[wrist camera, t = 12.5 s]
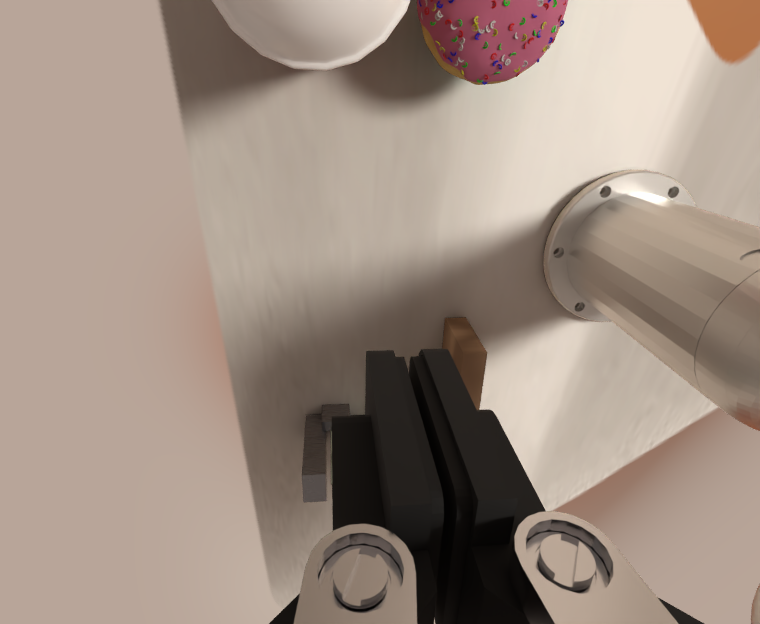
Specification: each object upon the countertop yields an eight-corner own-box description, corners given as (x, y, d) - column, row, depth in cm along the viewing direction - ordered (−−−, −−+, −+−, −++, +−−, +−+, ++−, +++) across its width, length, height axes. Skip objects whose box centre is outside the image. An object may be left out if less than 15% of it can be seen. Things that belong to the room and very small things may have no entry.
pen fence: (470, 317, 40) (509, 379, 31) (456, 431, 45) (487, 511, 37) (440, 318, 40) (471, 380, 31) (430, 432, 45) (454, 513, 36)
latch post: (348, 403, 43) (352, 462, 36) (348, 437, 44) (352, 499, 37) (305, 405, 42) (301, 465, 35) (307, 439, 44) (303, 502, 37)
